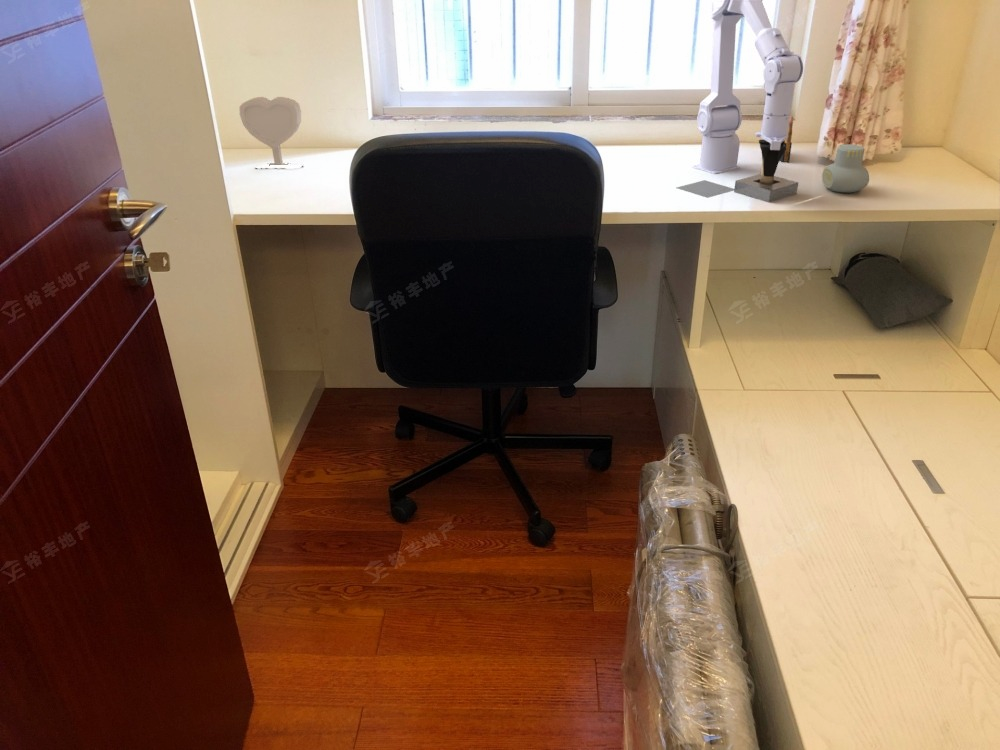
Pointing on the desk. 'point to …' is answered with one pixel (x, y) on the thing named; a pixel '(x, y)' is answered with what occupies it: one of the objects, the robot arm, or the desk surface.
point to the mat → (705, 188)
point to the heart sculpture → (271, 121)
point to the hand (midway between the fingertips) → (768, 174)
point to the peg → (765, 178)
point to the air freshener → (846, 170)
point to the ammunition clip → (788, 142)
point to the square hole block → (766, 188)
